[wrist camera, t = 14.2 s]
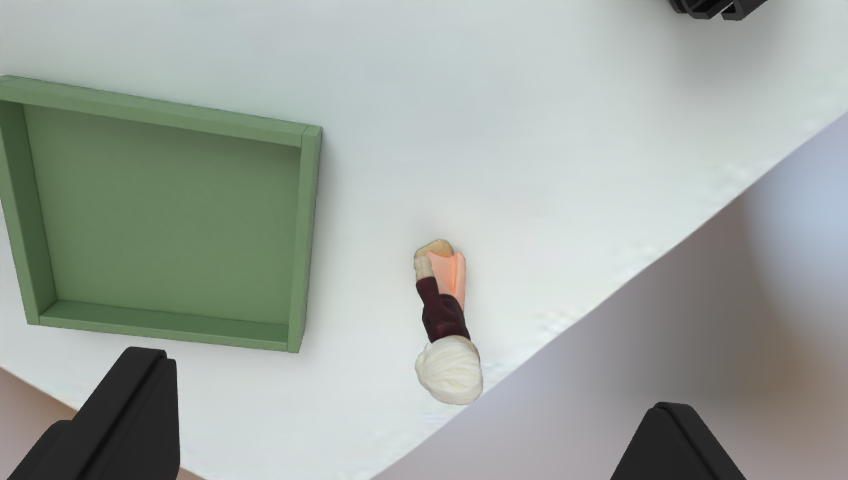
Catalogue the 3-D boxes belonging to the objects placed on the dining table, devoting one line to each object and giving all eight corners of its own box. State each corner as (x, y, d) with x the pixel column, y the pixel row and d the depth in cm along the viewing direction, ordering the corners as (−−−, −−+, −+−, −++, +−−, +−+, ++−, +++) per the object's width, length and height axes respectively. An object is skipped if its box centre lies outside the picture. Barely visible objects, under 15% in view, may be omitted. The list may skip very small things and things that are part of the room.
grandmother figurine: (486, 289, 35) (528, 426, 24) (440, 312, 36) (460, 456, 24) (434, 205, 32) (455, 316, 20) (385, 232, 33) (379, 354, 21)
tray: (50, 304, 34) (26, 324, 31) (7, 74, 27) (-26, 81, 25) (304, 332, 36) (298, 353, 34) (322, 126, 29) (316, 136, 27)
